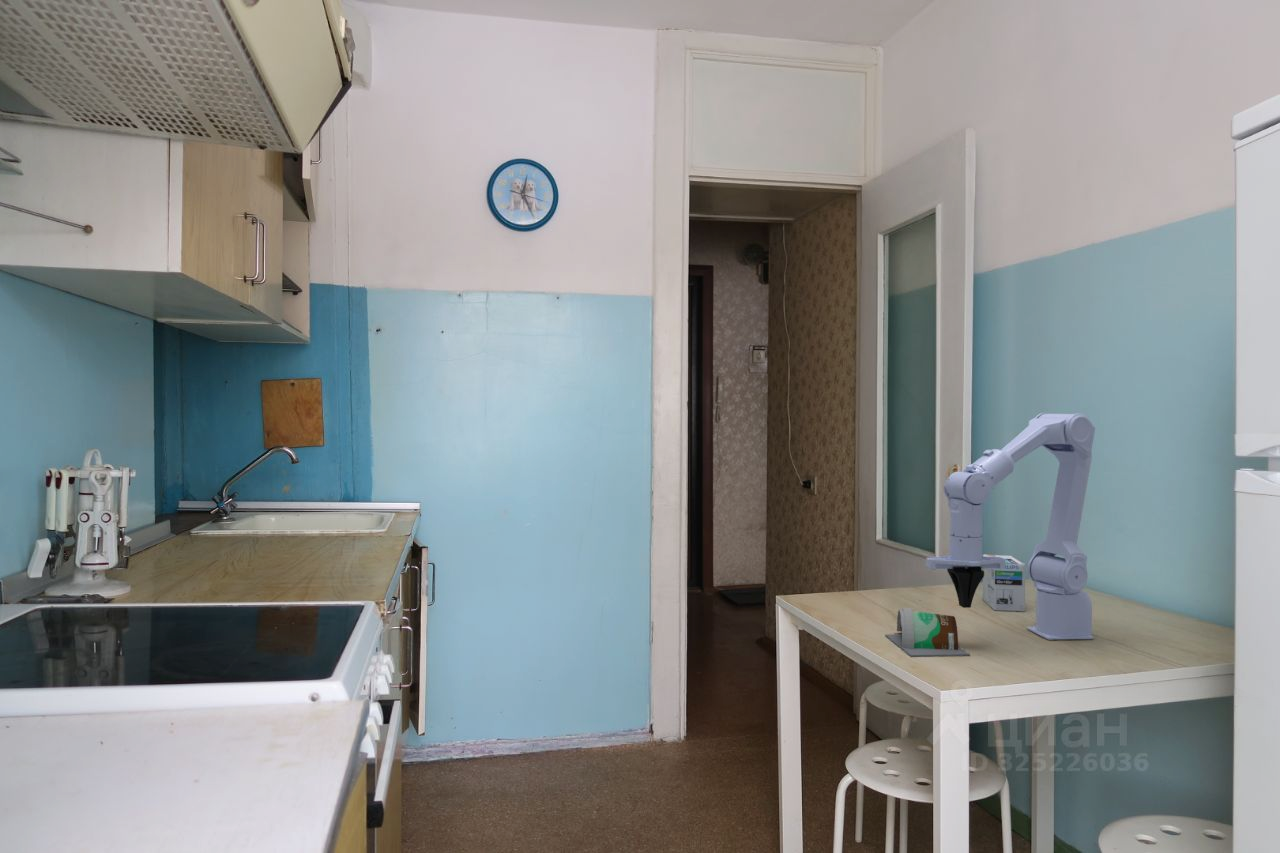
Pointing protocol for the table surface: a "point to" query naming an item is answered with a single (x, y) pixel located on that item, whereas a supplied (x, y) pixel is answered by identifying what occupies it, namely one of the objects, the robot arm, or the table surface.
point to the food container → (927, 630)
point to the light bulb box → (1005, 585)
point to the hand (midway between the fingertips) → (964, 606)
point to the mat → (925, 652)
